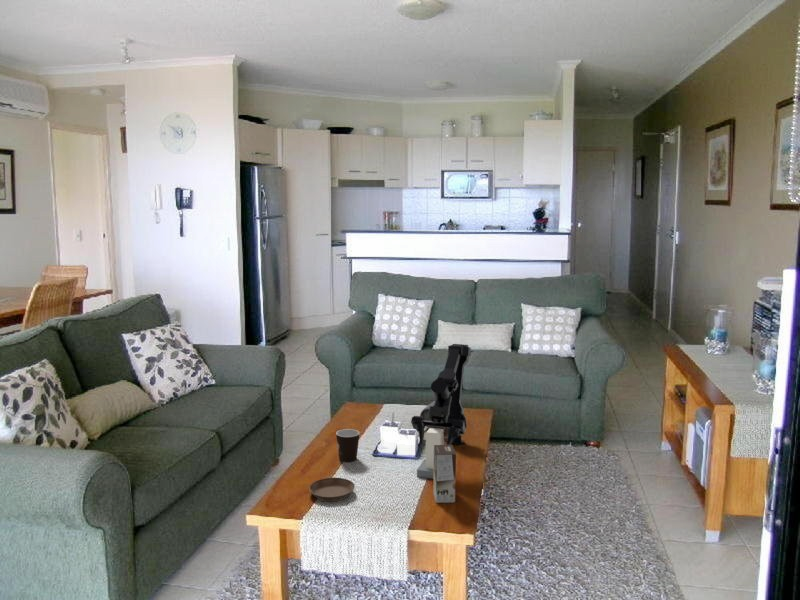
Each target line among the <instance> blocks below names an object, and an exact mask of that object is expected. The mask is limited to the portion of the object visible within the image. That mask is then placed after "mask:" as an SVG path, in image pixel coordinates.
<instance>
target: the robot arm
mask: <svg viewBox="0 0 800 600" xmlns="http://www.w3.org/2000/svg"><path fill="white" fill-rule="evenodd" d="M447 347H448V349H447V359H446V361H445V364H444V368H443V370H442V371H440V372H439V373H438V376H437V378H436V379H435V380H434V381H432V383H431V384H430V390H431V392H432V396H433V398H434V401H435V403H434V405H433V406H430V408H429V416H430V417H429V418H430V419H431V421H426V420H424V418H423V417H422V416H420V415H413V416H412V417H411V420H410V423H411V426H412V427H413V429H414V430H415V431H416V432H418V436H419V438H418V439H419V444H420V447H422V446H423V445H424V444H423V443H424V440H425V439H424V438H425V434H426V433H425V432H426V431H425V428H426V426H430V427H429V428H439V429H446V430H447V431H446V436H447V437H445V438H444V442H446V445H452V446H453V445H460V444H465V441H464V440H463V439H462V435H465V434H466V433H465V432H466V429H467V426H468V425H467V424H468V423H467V418H466V415H465V410H464V408H463V406H462V395H463V393H462V391H463V381H464V371H465V367H466V366H467V364H468V363H469V361H470V357H471V354H472V347H469V345H468V344H460V343H452V344H451V345H448V346H447Z"/></svg>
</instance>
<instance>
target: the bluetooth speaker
mask: <svg viewBox="0 0 800 600" xmlns="http://www.w3.org/2000/svg"><path fill="white" fill-rule="evenodd" d="M434 403H435V400H434V401H432V402H430V403H429V404H428V405H426V407H424V408H423V409H422V411H421V412H420V415H419V416H422V417H423V418H424V420H426V421H431V419H430V418H429V417H430V416H429V408H430V406H433V405H434ZM425 428H431V427H430V426H425Z"/></svg>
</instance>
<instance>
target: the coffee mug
mask: <svg viewBox="0 0 800 600" xmlns="http://www.w3.org/2000/svg"><path fill="white" fill-rule="evenodd" d="M335 434H336V435H335V436H336V444H337V451H338V459H339V461H340V462H341V463H342V462H343V463H353V462H355V461H357V456H358V450H359V441H360V434H361V433H360V431H359V430H357V429H354V428H353V429H351V428H345V429H340V430H337V431H336V433H335Z"/></svg>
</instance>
